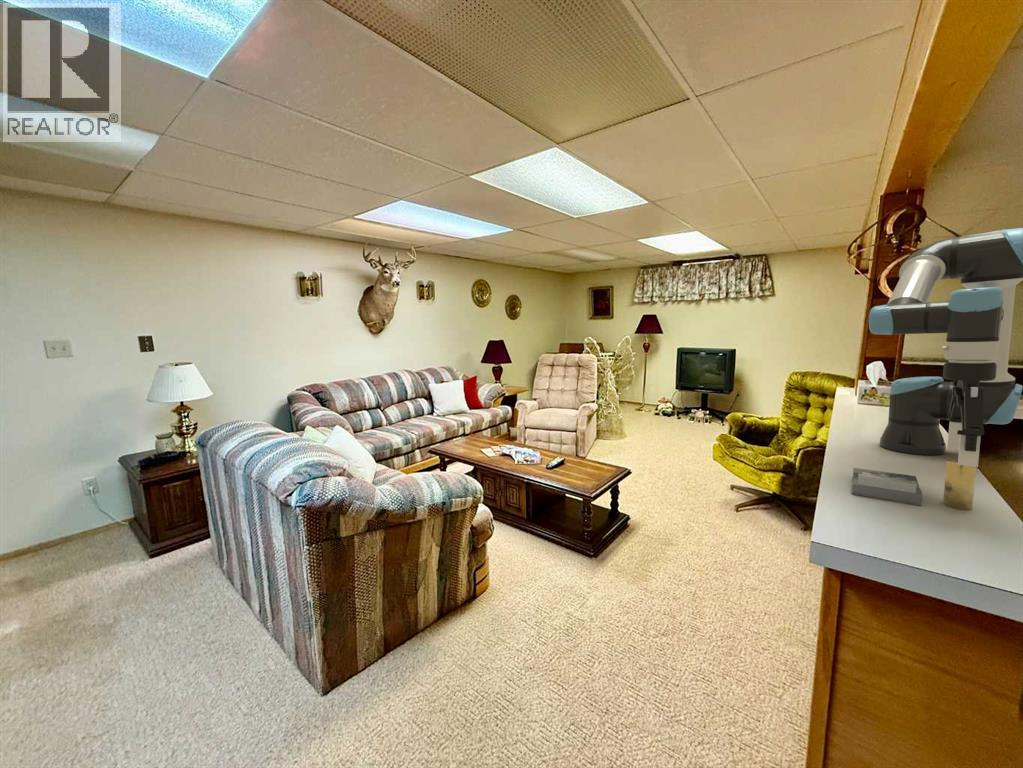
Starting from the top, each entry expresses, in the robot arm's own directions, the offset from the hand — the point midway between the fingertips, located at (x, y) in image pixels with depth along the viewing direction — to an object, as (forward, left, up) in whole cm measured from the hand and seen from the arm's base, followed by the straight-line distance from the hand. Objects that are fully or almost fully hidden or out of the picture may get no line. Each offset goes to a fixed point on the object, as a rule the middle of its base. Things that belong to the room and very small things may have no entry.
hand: (961, 457), depth 88 cm
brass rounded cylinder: (0, 0, -11) cm, 11 cm away
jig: (+9, -9, -11) cm, 17 cm away
